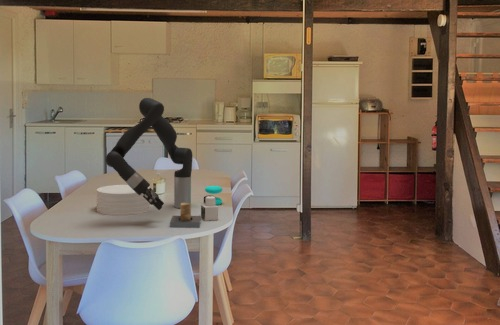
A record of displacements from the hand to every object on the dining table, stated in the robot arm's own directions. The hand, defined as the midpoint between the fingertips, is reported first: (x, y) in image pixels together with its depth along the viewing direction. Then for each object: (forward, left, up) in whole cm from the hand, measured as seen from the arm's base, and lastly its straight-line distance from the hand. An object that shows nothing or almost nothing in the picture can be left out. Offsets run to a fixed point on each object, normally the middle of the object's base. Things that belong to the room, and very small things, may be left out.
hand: (161, 206), depth 272 cm
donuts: (-33, +45, -9) cm, 56 cm away
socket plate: (+6, +10, -8) cm, 14 cm away
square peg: (+5, +10, -8) cm, 14 cm away
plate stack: (-40, -6, -9) cm, 41 cm away
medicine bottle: (+1, +25, -9) cm, 27 cm away
